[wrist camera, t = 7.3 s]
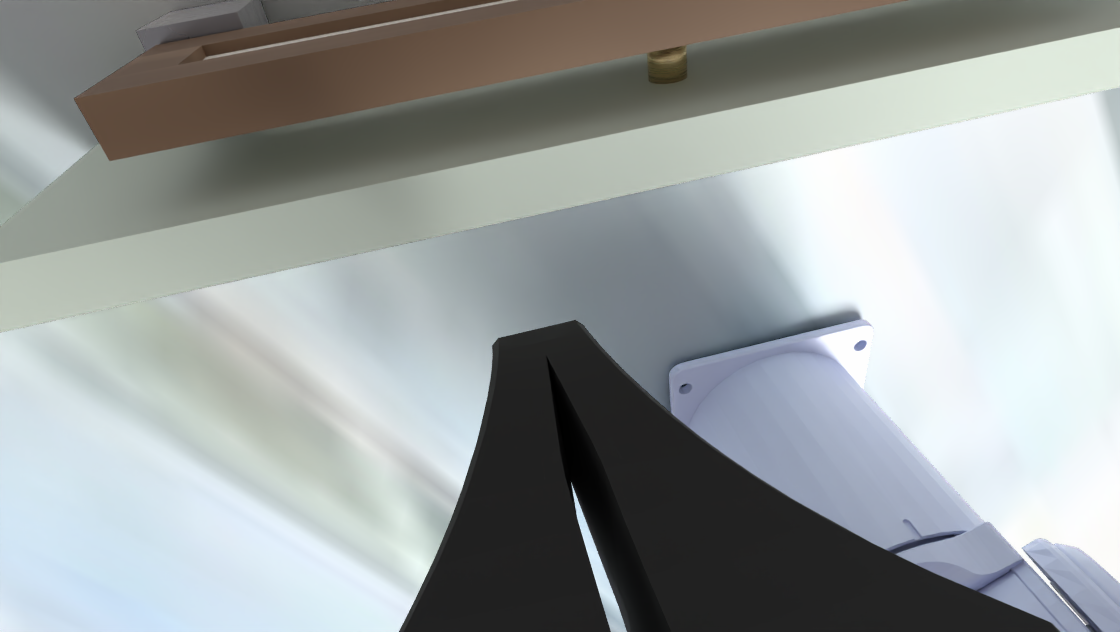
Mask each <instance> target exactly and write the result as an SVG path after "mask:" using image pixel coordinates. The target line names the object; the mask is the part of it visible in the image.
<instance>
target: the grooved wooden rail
mask: <svg viewBox="0 0 1120 632" xmlns="http://www.w3.org/2000/svg"><path fill="white" fill-rule="evenodd" d="M903 1H908V0H394V1H388V2H383V3H378V4H372V5H367V6H362V7H356V8H351V9H346V10H340V11H335V12H329V13H324V14H319V15H313V16H308V17H303V18H297V19H292V20H287V21H281V22H276V23H271V24H265V25H260V26H255V27H249V28H244V29H239V30H233V31H228V32H223V33H217V34H212V35H207V36H201V37H196V38H191V39H185V40H180V41H175V42H169V43H164V44H159V45H155V46H154V47H152V48H151V49H149V50H148V51H146V52H145V53H143V54H142V55H140V56H138V57H137V58H135V59H134V60H132V61H131V62H129V63H128V64H126V65H125V66H123V67H122V68H120V69H118V70H117V71H115V72H114V73H112V74H111V75H109V76H108V77H106V78H105V79H103V80H102V81H100V82H98V83H97V84H95V85H94V86H92V87H91V88H89V89H88V90H86V91H85V92H83V93H82V94H80V95H79V96H77V97H75V98H74V100H75V102H76V104H77V105H78V107H79V109H80V111H81V112H82V114H83V116H84V118H85V119H86V121H87V123H88V124H89V126H90V128H91V130H92V131H93V133H94V135H95V137H96V138H97V140H98V142H99V144H100V145H101V147H102V149H103V151H104V152H105V154H106V156H107V158H108V159H109V161H113V160H118V159H123V158H128V157H133V156H138V155H143V154H148V153H153V152H158V151H163V150H168V149H173V148H178V147H183V146H188V145H193V144H198V143H203V142H208V141H213V140H218V139H223V138H228V137H232V136H237V135H242V134H247V133H252V132H257V131H262V130H267V129H272V128H277V127H282V126H287V125H292V124H297V123H302V122H307V121H312V120H317V119H322V118H327V117H332V116H337V115H342V114H347V113H352V112H357V111H362V110H367V109H372V108H376V107H381V106H386V105H391V104H396V103H401V102H406V101H411V100H416V99H421V98H426V97H431V96H436V95H441V94H446V93H451V92H456V91H461V90H466V89H471V88H476V87H481V86H486V85H491V84H496V83H501V82H506V81H511V80H516V79H520V78H525V77H530V76H535V75H540V74H545V73H550V72H555V71H560V70H565V69H570V68H575V67H580V66H585V65H590V64H595V63H600V62H605V61H610V60H615V59H620V58H625V57H630V56H635V55H640V54H645V53H650V52H655V51H660V50H664V49H669V48H674V47H679V46H684V45H689V44H694V43H699V42H704V41H709V40H714V39H719V38H724V37H729V36H734V35H739V34H744V33H749V32H754V31H759V30H764V29H769V28H774V27H779V26H784V25H789V24H794V23H799V22H804V21H809V20H813V19H818V18H823V17H828V16H833V15H838V14H843V13H848V12H853V11H858V10H863V9H868V8H873V7H878V6H883V5H888V4H893V3H898V2H903Z"/></svg>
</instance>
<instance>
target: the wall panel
mask: <svg viewBox="0 0 1120 632" xmlns="http://www.w3.org/2000/svg"><path fill="white" fill-rule="evenodd" d="M265 24H269V22H268V19H267V17H266V14H265V11H264V9H263V6H262V3H261V1H260V0H231V1H226V2H220V3H215V4H209V5H204V6H198V7H193V8H187V9H182V10H177V11H171V12H169V13H167V14H166V15H164V16H162V17H160V18H158V19H156V20H155V21H153V22H151V23H149V24H147V25H145V26H143V27H142V28H140V29H138V30H136V33H137V35H138V37H139V39H140V41H141V43H142V45H143V47H144V49H145V51H148V50H149V49H151V48H152V47H154V46H155V45H159V44H164V43H169V42H175V41H180V40H185V39H191V38H196V37H201V36H207V35H212V34H217V33H223V32H228V31H233V30H239V29H244V28H249V27H255V26H260V25H265ZM1118 87H1120V0H908V1H903V2H898V3H893V4H888V5H883V6H878V7H873V8H868V9H863V10H858V11H853V12H848V13H843V14H838V15H833V16H828V17H823V18H818V19H813V20H809V21H804V22H799V23H794V24H789V25H784V26H779V27H774V28H769V29H764V30H759V31H754V32H749V33H744V34H739V35H734V36H729V37H724V38H719V39H714V40H709V41H704V42H699V43H694V44H689V45H684V46H679V47H674V48H669V49H664V50H660V51H655V52H650V53H645V54H640V55H635V56H630V57H625V58H620V59H615V60H610V61H605V62H600V63H595V64H590V65H585V66H580V67H575V68H570V69H565V70H560V71H555V72H550V73H545V74H540V75H535V76H530V77H525V78H520V79H516V80H511V81H506V82H501V83H496V84H491V85H486V86H481V87H476V88H471V89H466V90H461V91H456V92H451V93H446V94H441V95H436V96H431V97H426V98H421V99H416V100H411V101H406V102H401V103H396V104H391V105H386V106H381V107H376V108H372V109H367V110H362V111H357V112H352V113H347V114H342V115H337V116H332V117H327V118H322V119H317V120H312V121H307V122H302V123H297V124H292V125H287V126H282V127H277V128H272V129H267V130H262V131H257V132H252V133H247V134H242V135H237V136H232V137H228V138H223V139H218V140H213V141H208V142H203V143H198V144H193V145H188V146H183V147H178V148H173V149H168V150H163V151H158V152H153V153H148V154H143V155H138V156H133V157H128V158H123V159H118V160H113V161H109V159H108V158H107V156H106V154H105V152H104V151H103V149H102V147H101V145H100V144H99V143H98V144H97V145H96V146H95V147H94V148H92V149H91V150H90V151H89V152H88V153H86V154H85V155H84V156H83V157H82V158H81V159H79V160H78V161H77V162H76V163H75V164H73V165H72V166H71V167H70V168H69V169H68V170H66V171H65V172H64V173H63V174H62V175H60V176H59V177H58V178H57V179H56V180H55V181H53V182H52V183H51V184H50V185H49V186H47V187H46V188H45V189H44V190H43V191H42V192H40V193H39V194H38V195H37V196H36V197H34V198H33V199H32V200H31V201H30V202H29V203H27V204H26V205H25V206H24V207H23V208H21V209H20V210H19V211H18V212H17V213H16V214H14V215H13V216H12V217H11V218H10V219H8V220H7V221H6V222H5V223H4V224H3V225H1V226H0V333H1V332H5V331H10V330H14V329H19V328H24V327H28V326H33V325H37V324H42V323H46V322H51V321H55V320H60V319H65V318H69V317H74V316H78V315H83V314H87V313H92V312H97V311H101V310H106V309H110V308H115V307H119V306H124V305H128V304H133V303H138V302H142V301H147V300H151V299H156V298H160V297H165V296H169V295H174V294H179V293H183V292H188V291H192V290H197V289H201V288H206V287H211V286H215V285H220V284H224V283H229V282H233V281H238V280H242V279H247V278H252V277H256V276H261V275H265V274H270V273H274V272H279V271H284V270H288V269H293V268H297V267H302V266H306V265H311V264H315V263H320V262H325V261H329V260H334V259H338V258H343V257H347V256H352V255H357V254H361V253H366V252H370V251H375V250H379V249H384V248H388V247H393V246H398V245H402V244H407V243H411V242H416V241H420V240H425V239H429V238H434V237H439V236H443V235H448V234H452V233H457V232H461V231H466V230H471V229H475V228H480V227H484V226H489V225H493V224H498V223H502V222H507V221H512V220H516V219H521V218H525V217H530V216H534V215H539V214H544V213H548V212H553V211H557V210H562V209H566V208H571V207H575V206H580V205H585V204H589V203H594V202H598V201H603V200H607V199H612V198H617V197H621V196H626V195H630V194H635V193H639V192H644V191H648V190H653V189H658V188H662V187H667V186H671V185H676V184H680V183H685V182H689V181H694V180H699V179H703V178H708V177H712V176H717V175H721V174H726V173H731V172H735V171H740V170H744V169H749V168H753V167H758V166H762V165H767V164H772V163H776V162H781V161H785V160H790V159H794V158H799V157H804V156H808V155H813V154H817V153H822V152H826V151H831V150H835V149H840V148H845V147H849V146H854V145H858V144H863V143H867V142H872V141H877V140H881V139H886V138H890V137H895V136H899V135H904V134H908V133H913V132H918V131H922V130H927V129H931V128H936V127H940V126H945V125H949V124H954V123H959V122H963V121H968V120H972V119H977V118H981V117H986V116H991V115H995V114H1000V113H1004V112H1009V111H1013V110H1018V109H1022V108H1027V107H1032V106H1036V105H1041V104H1045V103H1050V102H1054V101H1059V100H1064V99H1068V98H1073V97H1077V96H1082V95H1086V94H1091V93H1095V92H1100V91H1105V90H1109V89H1114V88H1118Z"/></svg>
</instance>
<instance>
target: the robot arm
mask: <svg viewBox="0 0 1120 632" xmlns="http://www.w3.org/2000/svg"><path fill="white" fill-rule="evenodd" d="M873 332H874V330H873V327H872V325H871V324H870V323H869V322H867V321H866V320H863V319H861V320H855V321H851V322H847V323H843V324H839V325H835V326H831V327H827V328H822V329H818V330H814V331H810V332H806V333H802V334H798V335H794V336H790V337H786V338H781V339H777V340H773V341H769V342H765V343H761V344H757V345H753V346H749V347H744V348H740V349H736V350H732V351H728V352H724V353H720V354H716V355H712V356H708V357H703V358H699V359H695V360H691V361H687V362H683V363H680V364H677V365H676V366H674V367H673V368H672V369H671V371H670V373H669V386H670V404H671V413H670V412H669V411H668V410H667V409H666V408H665V407H663V406H662V405H661V404H660V403H659V402H658V401H657V400H655V399H654V398H653V397H652V396H651V395H650V394H649V393H648V392H647V391H646V390H644V389H643V388H642V387H641V386H640V385H639V384H638V383H637V382H636V381H635V380H634V379H632V378H631V377H630V376H629V375H628V374H627V373H626V372H625V371H624V370H623V369H622V368H621V367H620V366H619V365H618V364H617V363H616V362H615V361H614V360H613V359H612V358H611V356H610V355H609V354H608V353H607V352H606V351H605V350H604V349H603V348H602V347H601V346H600V345H599V343H598V342H597V341H596V340H595V339H594V338H593V336H592V335H591V334H590V333H589V332H588V330H587V329H586V328H585V326H584V325H583V324H581V323H579V322H578V321H576V320H574V321H570V322H565V323H561V324H557V325H553V326H548V327H544V328H540V329H536V330H531V331H527V332H523V333H518V334H514V335H510V336H506V337H501V338H498V339H497V340H496V342H495V343H494V344H493V346H492V349H493V360H492V372H491V380H490V386H489V391H488V397H487V402H486V407H485V411H484V415H483V419H482V423H481V428H480V432H479V436H478V440H477V443H476V447H475V450H474V453H473V457H472V460H471V463H470V466H469V469H468V472H467V475H466V479H465V482H464V485H463V488H462V491H461V494H460V497H459V499H458V502H457V505H456V507H455V510H454V513H453V515H452V518H451V521H450V523H449V526H448V528H447V530H446V533H445V535H444V538H443V540H442V542H441V545H440V547H439V550H438V552H437V554H436V556H435V559H434V561H433V563H432V565H431V567H430V569H429V572H428V574H427V576H426V578H425V580H424V582H423V584H422V586H421V588H420V591H419V593H418V595H417V597H416V599H415V601H414V603H413V605H412V607H411V609H410V611H409V613H408V615H407V617H406V619H405V621H404V623H403V625H402V627H401V629H400V631H399V632H611V631H610V628H609V625H608V621H607V618H606V615H605V611H604V608H603V605H602V601H601V598H600V595H599V591H598V588H597V585H596V581H595V578H594V574H593V571H592V568H591V564H590V561H589V557H588V554H587V551H586V547H585V544H584V540H583V537H582V534H581V530H580V527H579V523H578V520H577V515H576V509H575V503H574V497H573V491H572V485H573V488H574V490H575V493H576V496H577V498H578V501H579V504H580V506H581V509H582V512H583V514H584V517H585V519H586V522H587V525H588V527H589V530H590V533H591V535H592V538H593V540H594V543H595V546H596V548H597V551H598V554H599V556H600V559H601V561H602V564H603V567H604V569H605V572H606V575H607V577H608V580H609V582H610V585H611V588H612V590H613V593H614V595H615V598H616V601H617V603H618V606H619V609H620V612H621V615H622V618H623V621H624V624H625V627H626V630H627V632H1120V583H1119V582H1118V581H1117V580H1116V579H1114V578H1113V577H1112V576H1111V575H1110V574H1109V573H1108V572H1107V571H1106V570H1105V569H1103V568H1102V567H1101V566H1100V565H1099V564H1098V563H1097V562H1095V561H1094V560H1093V559H1092V558H1091V557H1089V556H1088V555H1087V554H1086V553H1084V552H1083V551H1082V550H1080V549H1079V548H1076V547H1072V546H1067V545H1062V544H1054V545H1053V544H1052V543H1050V542H1049V541H1047V540H1046V539H1041V538H1039V539H1036V540H1034V541H1032V542H1030V543H1029V544H1027V545H1026V546H1024V547H1022V549H1023V550H1024V551H1025V553H1026V554H1027V555H1028V556H1029V558H1030V559H1031V560H1032V561H1033V562H1034V563H1035V564H1036V566H1037V567H1038V568H1039V569H1040V570H1041V571H1042V572H1043V574H1044V575H1045V576H1046V577H1047V578H1048V579H1049V580H1050V581H1051V582H1050V584H1051V585H1052V586H1053V588H1054V589H1055V590H1056V591H1057V592H1058V593H1059V594H1060V596H1061V597H1062V598H1063V599H1064V600H1065V601H1066V602H1067V603H1068V605H1069V606H1070V607H1071V608H1072V609H1073V610H1074V611H1075V612H1076V614H1077V615H1078V616H1079V617H1080V618H1081V619H1082V620H1083V621H1084V622H1085V624H1086V626H1085V625H1084V624H1083V623H1082V621H1081V620H1080V619H1079V618H1078V617H1077V616H1076V615H1075V614H1074V613H1073V612H1072V611H1071V610H1070V608H1069V607H1068V606H1067V605H1066V604H1065V603H1064V602H1063V601H1062V600H1061V599H1060V598H1059V597H1058V596H1057V594H1056V593H1055V592H1054V591H1053V590H1052V589H1051V588H1050V587H1049V586H1048V585H1047V584H1046V583H1045V582H1044V580H1043V579H1042V578H1041V577H1040V576H1039V575H1038V574H1037V573H1036V572H1035V571H1034V570H1033V569H1032V568H1031V567H1030V566H1029V565H1028V564H1027V562H1026V561H1025V560H1024V559H1023V558H1022V557H1021V556H1020V555H1019V554H1018V553H1017V551H1016V550H1015V549H1014V548H1013V547H1012V546H1011V545H1010V544H1009V543H1008V542H1007V541H1006V539H1005V538H1004V537H1003V536H1002V535H1001V534H1000V533H999V532H998V531H997V530H996V529H995V528H994V526H993V525H992V524H991V523H989V522H984V521H983V520H982V519H981V518H980V516H979V515H978V514H977V513H976V512H975V511H974V510H973V509H972V508H971V507H970V505H969V504H968V503H967V502H966V501H965V500H964V499H963V498H962V497H961V496H960V494H959V493H958V492H957V491H956V490H955V489H954V488H953V487H952V486H951V485H950V484H949V482H948V481H947V480H946V479H945V478H944V477H943V476H942V475H941V474H940V473H939V471H938V470H937V469H936V468H935V467H934V466H933V465H932V464H931V463H930V462H929V460H928V459H927V458H926V457H925V456H924V455H923V454H922V453H921V452H920V451H919V449H918V448H917V447H916V446H915V445H914V444H913V443H912V442H911V441H910V440H909V439H908V437H907V436H906V435H905V434H904V433H903V432H902V431H901V430H900V429H899V428H898V426H897V425H896V424H895V423H894V422H893V421H892V420H891V419H890V418H889V417H888V415H887V414H886V413H885V412H884V411H883V410H882V409H881V408H880V407H879V406H878V404H877V403H876V402H875V401H874V400H873V399H872V398H871V397H870V396H869V395H868V394H867V392H866V391H865V390H864V389H863V388H864V382H865V377H866V371H867V366H868V360H869V355H870V349H871V343H872V338H873ZM857 342H858V343H857ZM856 343H857V344H856ZM683 384H687V385H686V386H684V387H682V388H680V387H681V386H682V385H683ZM571 482H572V485H571Z"/></svg>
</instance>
